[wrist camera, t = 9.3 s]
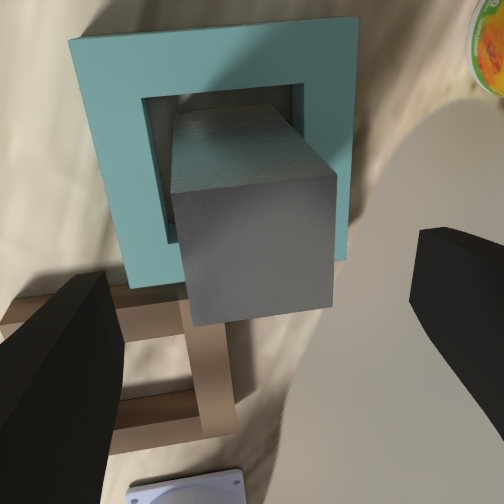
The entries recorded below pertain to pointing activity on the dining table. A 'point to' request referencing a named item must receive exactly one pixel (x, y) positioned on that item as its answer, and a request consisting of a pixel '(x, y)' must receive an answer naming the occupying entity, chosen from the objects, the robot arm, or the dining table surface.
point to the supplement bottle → (487, 46)
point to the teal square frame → (207, 80)
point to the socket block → (172, 404)
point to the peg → (251, 215)
